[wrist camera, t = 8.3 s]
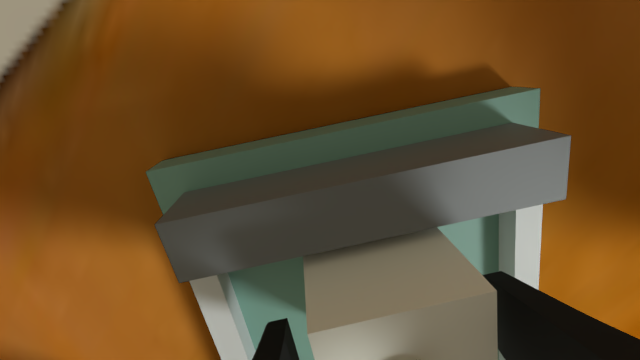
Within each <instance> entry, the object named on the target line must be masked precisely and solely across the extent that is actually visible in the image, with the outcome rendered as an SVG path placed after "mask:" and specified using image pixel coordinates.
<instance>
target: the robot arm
mask: <svg viewBox="0 0 640 360" xmlns="http://www.w3.org/2000/svg"><path fill="white" fill-rule="evenodd" d="M483 277H484V278H485V279H486V280H487V281H488V282H489V283H490V284H491V285H492V286H493V287H494V288H495V289H496V290H497V337H498V349H499V351H500V353H501V354H502V356H503V357H504V359H505V360H640V339H638V338H635V337H633V336H631V335H629V334H627V333H624V332H622V331H620V330H618V329H616V328H614V327H611V326H609V325H607V324H605V323H603V322H601V321H599V320H597V319H594V318H592V317H590V316H588V315H586V314H584V313H582V312H580V311H578V310H576V309H574V308H572V307H570V306H568V305H566V304H564V303H562V302H560V301H558V300H557V299H555V298H553V297H551V296H549V295H547V294H545V293H543V292H541V291H539V290H537V289H535V288H534V287H532V286H530V285H528V284H526V283H524V282H522V281H520V280H518V279H516V278H515V277H513V276H511V275H509V274H507V273H505V272H502V271H499V272H494V273H489V274H485V275H483ZM252 360H299V356H298V353H297V349H296V346H295V343H294V339H293V336H292V332H291V329H290V326H289V322H288V319H287V318H285V319H280V320H276V321H271V322H268V323H267V325H266V327H265V329H264V332H263V334H262V337H261V339H260V342H259V344H258V347H257V349H256V352H255V354H254V356H253V358H252Z"/></svg>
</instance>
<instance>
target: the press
mask: <svg viewBox="0 0 640 360" xmlns="http://www.w3.org/2000/svg"><path fill="white" fill-rule="evenodd" d="M539 108H540V88H524V87H508V88H503V89H499V90H494V91H489V92H485V93H480V94H475V95H470V96H466V97H461V98H456V99H451V100H447V101H442V102H437V103H432V104H428V105H423V106H418V107H414V108H409V109H404V110H399V111H395V112H390V113H385V114H380V115H376V116H371V117H366V118H361V119H357V120H352V121H347V122H342V123H338V124H333V125H328V126H324V127H319V128H314V129H309V130H305V131H300V132H295V133H290V134H286V135H281V136H276V137H271V138H267V139H262V140H257V141H253V142H248V143H243V144H238V145H234V146H229V147H224V148H219V149H215V150H210V151H205V152H200V153H196V154H191V155H186V156H181V157H177V158H172V159H167V160H163V161H161V162H160V163H158V164H157V165H155V166H154V167H152V168H151V169H149V170H148V171H146V174H147V176H148V179H149V181H150V184H151V186H152V189H153V191H154V194H155V196H156V198H157V201H158V203H159V206H160V208H161V211H162V213H163V216H162V217H161V218H160V219H159V220H158V221H157V223H156V224H155V227H156V230H157V232H158V234H159V237H160V239H161V241H162V244H163V246H164V248H165V251H166V253H167V256H168V258H169V260H170V263H171V265H172V267H173V270H174V272H175V274H176V277H177V279H178V281H179V283H182V282H187V281H189V282H190V284H191V287H192V289H193V291H194V294H195V296H196V299H197V301H198V304H199V306H200V309H201V311H202V313H203V316H204V318H205V321H206V323H207V326H208V328H209V331H210V333H211V335H212V338H213V340H214V343H215V345H216V348H217V350H218V353H219V355H220V357H221V360H252V358H253V356H254V354H255V352H256V349H257V347H258V344H259V342H260V339H261V337H262V334H263V332H264V329H265V327H266V325H267V323H268V322H271V321H276V320H280V319H285V318H287V319H288V322H289V326H290V329H291V332H292V336H293V339H294V343H295V346H296V349H297V353H298V356H299V360H315V359H314V356H313V352H312V349H311V345H310V342H309V338H308V335H307V319H306V301H305V283H304V266H303V256H306V255H311V254H316V253H320V252H325V251H329V250H334V249H339V248H343V247H348V246H352V245H357V244H362V243H366V242H371V241H375V240H380V239H385V238H389V237H394V236H398V235H403V234H408V233H412V232H417V231H421V230H426V229H431V228H435V227H437V228H438V229H439V230H440V231H441V232H442V233H443V234H444V235H445V236H446V237H447V238H448V239H449V240H450V241H451V243H452V244H453V245H454V246H455V247H456V248H457V249H458V250H459V251H460V252H461V253H462V254H463V255H464V256H465V257H466V258H467V260H468V261H469V262H470V263H471V264H472V265H473V266H474V267H475V268H476V269H477V270H478V271H479V272H480V273H481V274H482V275H485V274H489V273H494V272H499V271H502V272H505V273H507V274H509V275H511V276H513V277H515V278H516V279H518V280H520V281H522V282H524V283H526V284H528V285H530V286H532V287H534V288H535V289H537V290H538V286H539V268H540V249H541V230H542V212H543V204H546V203H550V202H555V201H560V200H564V199H566V193H567V181H568V169H569V156H570V144H571V135H567V134H562V133H558V132H553V131H548V130H544V129H539ZM498 360H505V359H504V357H503V356H502V354H501V353H500V351H499V349H498Z"/></svg>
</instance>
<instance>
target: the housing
mask: <svg viewBox="0 0 640 360" xmlns="http://www.w3.org/2000/svg"><path fill="white" fill-rule="evenodd" d="M303 266H304V283H305V301H306V319H307V335H308V338H309V342H310V345H311V349H312V352H313V356H314V359H315V360H498V337H497V290H496V289H495V288H494V287H493V286H492V285H491V284H490V283H489V282H488V281H487V280H486V279H485V278H484V277H483V275H482V274H481V273H480V272H479V271H478V270H477V269H476V268H475V267H474V266H473V265H472V264H471V263H470V262H469V261H468V260H467V258H466V257H465V256H464V255H463V254H462V253H461V252H460V251H459V250H458V249H457V248H456V247H455V246H454V245H453V244H452V243H451V241H450V240H449V239H448V238H447V237H446V236H445V235H444V234H443V233H442V232H441V231H440V230H439V229H438V228H437V227H435V228H431V229H426V230H421V231H417V232H412V233H408V234H403V235H398V236H394V237H389V238H385V239H380V240H375V241H371V242H366V243H362V244H357V245H352V246H348V247H343V248H339V249H334V250H329V251H325V252H320V253H316V254H311V255H306V256H303Z"/></svg>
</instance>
